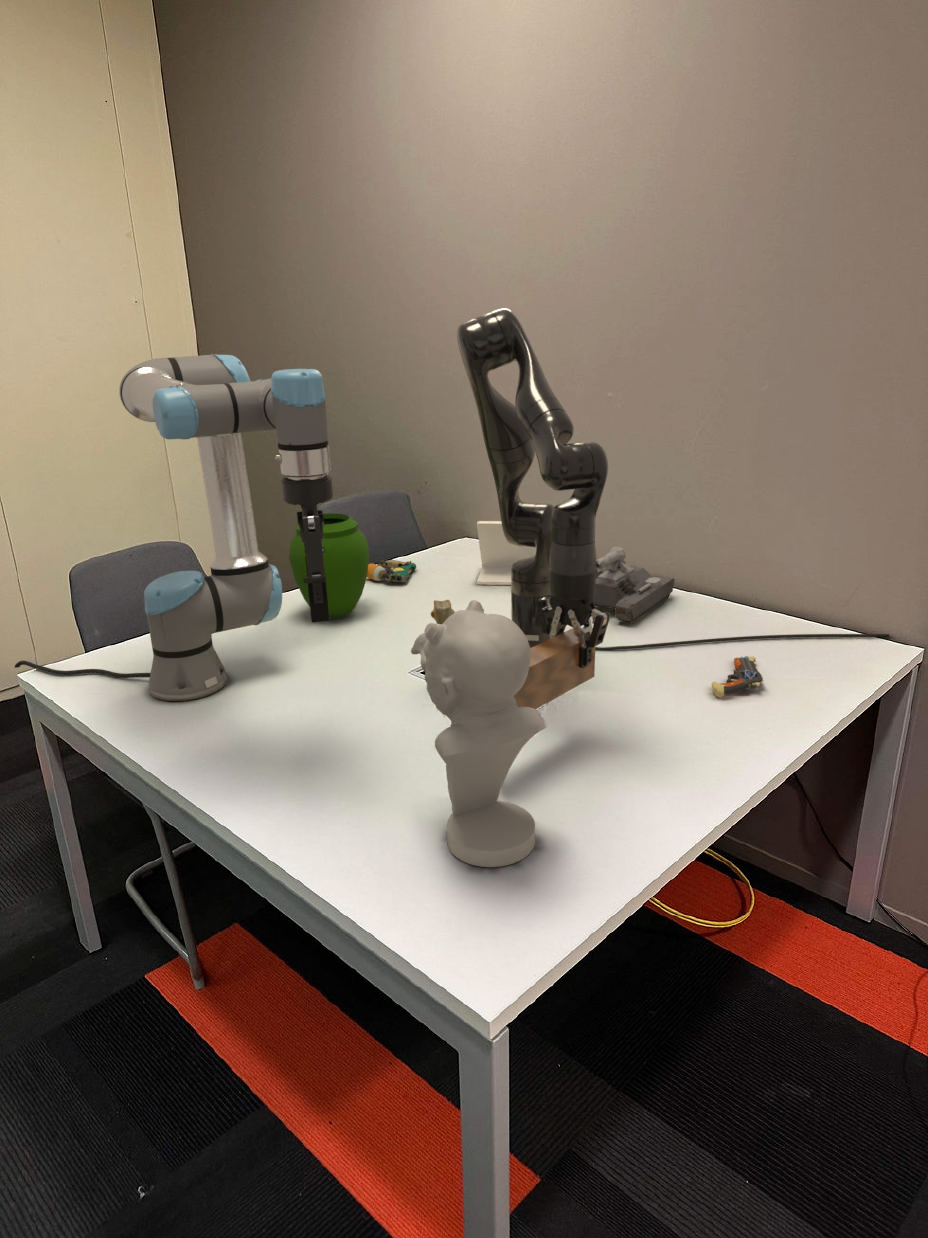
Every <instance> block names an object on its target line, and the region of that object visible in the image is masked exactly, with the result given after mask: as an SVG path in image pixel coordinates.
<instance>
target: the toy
mask: <svg viewBox="0 0 928 1238" xmlns="http://www.w3.org/2000/svg"><path fill="white" fill-rule="evenodd" d="M626 557H627V556H626V551H625V549H624V548H622V547H621V546H614V547H612V548H611V549H610V550H609V552H608V553H607V554H605V555H604V556H601V557H599V558H598V559H597V558H596V581H595V594H594V598H593V602H594V605H595V606H598V607H602V608H603V607H604V608H609V609H613V610H614V618H615V619H617V620H618V621H621V622H626V623H631V624H634V623H635V622H637V621H638V620H640V619H641V618H642V617H644V616H645V615H647V614H648V613H650V612H651V611H652V610H654V609H655V608H657V607H659V606H660V605H661V604H663V603H664V602H666V601H667V600H669V598H670V596H671V594H672V593H673V591H674V585H675V580H676V579H675V578H673V577H668V576H663V575H656V576H655V577H654V576H651V574H650V573H649V572H648V571H647V570H646V568H644V567H641V566H635V565H629V564H628V563H627V562H626V561H625V559H626Z"/></svg>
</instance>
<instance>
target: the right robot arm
mask: <svg viewBox="0 0 928 1238" xmlns="http://www.w3.org/2000/svg"><path fill="white" fill-rule="evenodd" d="M526 333H527V332H525V329H524V328H523V326H522V323H521V321H520V320H519V318H518V317H517V315H516V314H515V313H514V312H513V311H512V310H511V309H509V308H506V307H502V308H498V309H494V310H492V311H490V312H487V313H484V314H482V315H479V316H477V317H474V318H472V319H470V320H467V321H464V322H462V323H461V324H460V325H459V326H458V328H457V330H456V340H457V346H458V350H459V354H460V356H461V361H462V363H463V366H464V370H465V372H466V376H467V379H468V382H469V386H470V388H471V391H472V395H473V398H474V402H475V406H476V409H477V413H478V418H479V423H480V427H481V433H482V437H483V442H484V446H485V449H486V455H487V457H488V462H489V464H490V468H491V472H492V475H493V480H494V481H493V482H494V484H495V489H496V495H497V500H498V501H497V502H498V508H499V509H498V510H499V515H500V521H501V523H502V529H503V533H504V536H505V538H506V540H507V541H508V542H509V543H510V544H513V545H517V546H526V547H536V555H534V556H532V557H529V558H525V559H521V560H519V561H516V562H515V563H513V565H512V567H511V585H510V588H511V589H510V597H511V599H510V603H511V604H510V606H511V607H510V609H511V610H510V615H511V617H510V619H511V620H512V621H513V622H514V623H515V624H516V625H517V626H518V627H519V628H520V629H521V630H522V632H523V633H524V634H525V636H526V638H527V640H528V643H529V646H530V648H532V647H534V646H536V645H538V644H540V643H542V642H545V641H547V640H549V639H551V638H553V637H555V636H557V635H559V634H561V633H564V632H566V631H565V630H566V627H567V626H568V627H571V628H573V630H574V633H575V635H576V636H577V637H578V641H579V645H580V648H579V667H580V668H585V667H587V666H588V665H589V664H590V663H591V661H592V648H593V647H595V651H601V652H602V651H604V652H605V651H618V650H636V649H647V648H659V647H669V646H679V645H692V644H694V645H695V644H703V643H705V644H706V643H715V642H716V643H717V642H730V641H731V642H732V641H747V640H765V639H768V640H769V639H794V638H795V639H796V638H797V639H798V638H890V633H803V634H801V633H800V634H799V633H798V634H796V633H795V634H767V635H766V634H765V635H748V636H747V635H746V636H731V637H717V638H705V639H703V638H702V639H694V640H693V639H692V640H682V641H680V640H679V641H671V642H670V641H669V642H658V643H647V644H646V643H645V644H636V645H619V646H607V647H606V646H605V647H597V646H599V645H601V644H603V642H604V639H605V636H606V633H607V632H606V631H607V629H608V625H609V622H610V618H611V614H610V613H609V612H608V611H605V612H602V611H600V610H598V609H596V608H597V607H596V605H594V602H593V598H594V594H595V581H596V559H597V548H596V517H597V513H598V509H599V507H600V503H601V499H602V496H603V492H604V489H605V486H606V482H607V478H608V474H609V459H608V455H607V453H606V452H605V449H604V447H602V446H601V444H599V443H598V442H595V441H582V442H581V441H580V442H573V443H569V442H570V441H571V439H572V438H573V435H574V432H575V428H574V423H573V421H572V419H571V418H570V416H569V414H568V413H567V411H566V410H565V409H564V407H563V405H562V404H561V402H560V401H559V399H558V398H557V396H556V395H555V393H554V391H553V390H552V388H551V386H550V384H549V382H548V380H547V378H546V376H545V373H544V371H543V369H542V367H541V364H540V362H539V360H538V357H537V355H536V353H535V351H534V348H533V346H532V344H531V341H530V339H529V338H528V336H527V334H526ZM514 362H516V363H517V366H518V380H517V387H516V393H515V398H514V399H515V401H514V404H515V405H514V404H513V403H512V402H511V401H510V400H508V399H507V398H506V397H504V395H502V394H501V393H500V392H499V391H498V390H497V388H496V387H494V386H493V385H492V383H491V381H490V378H489V373H490V372H492V371H495V370H497V369H500V368H502V367H504V366H507V365H509V364H512V363H514ZM535 456H536V459H537V464H538V469H539V473H540V476H541V479H542V481H543V482H544V483H545V485H546V486H548V487H549V488H550V489H552V490H554V491H559V492H562V491H571V490H573V492H572V494H571V496H570V497H569V498H567V499H566V500H563V501H562V502H560V503H558V504H555V506H554V505H553V504H551V503H544V502H531V501H523V500H522V499H521V498H520V494H519V493H520V492H519V489H520V487H521V485H522V482H523V481H524V479H525V477H526V476H527V473H528V472H529V471H530V469H531V467H532V464H533V462H534V460H535ZM591 618H592V620H591Z"/></svg>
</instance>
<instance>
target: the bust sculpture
mask: <svg viewBox="0 0 928 1238" xmlns="http://www.w3.org/2000/svg"><path fill="white" fill-rule="evenodd" d="M454 612H455V613H453V614H452V615H451V616H450V617H448V618H447V619H446V620H445V622H444V623H443V624H436V623H435V622H430V623H428V624H427V625H426V626H425V628H424V632H423V633H421V634H419V635H418V636H417V637H416V638H415V640H414V642H413V645H412V647H411V649H410V654H412V655H420V667H421V669H422V670H423V672H424V681H425V682H426V690H427V693H428V696H429V698H430V701H431V702H432V704H434V706H435V708H436V710H438V711H439V712H440V713H441V714H442V716H446V717H447V718H448V719H449V720H450V726H448V727H446V728H445V729H443V730H442V731H441V732H440V733H439V734H438V735H436V738H435V741H434V748H435V749H436V752H437V753H438V755H439V757H440V758H441V760H442V761H443V762H444V763H445V771H446V781H447V790H448V796H449V800H450V803H451V810H452V813H451V814H450V815H449V817H448V819H447V822H446V844H447V847H448V849H449V851H450V852H451V854H452V855H453V856H454V857H456V858H457V859H459V860H460V861H462V862H463V863H466V864H469V865H471V866H476V867H483V868H498V867H505V866H509V865H512V864H517V862H520V861H521V860H523V859H525V858H527V856H528V855H530V854H531V852H532V851H533V849H535V848H534V847H535V845H536V822H535V821H536V820H535V819H534V817H533V816H532V814H531V813H530V812H529V811H528V810H526V809H525V808H524V807H522V806H520V805H517V804H515V803H513V802H509V801H504V800H499V796H500V793H501V790H502V788H503V785H504V783H505V780H506V778H507V776H508V773H509V771H510V769H511V768H512V765H513V763H514V761H515V760H516V759H517V756H518V755H519V753H520V752H521V750H522V749H523V748H524V747H525V745H526V744H527V743H528V742H529V741H530V740H531V739H532V738H533V737H535V735H537V734H538V733H539V732H541V731H544V730H545V729H546V728H547V725H546V723H545V720H544V718H543V717H542V714H541V713H540V712H539V711H538V710H537V709H533V708H530V707H518V706H517V705H516V698H515V697H514V695H515V694H516V693H517V692H518V691H519V690H520V689H521V688H522V686H523V685H524V683H525V680H526V678H527V675H528V671H529V666H530V656H531V655H530V653H531V652H530V646H529V643H528V640H527V638H526V636H525V634H524V633H523V632H522V630H521V629H520V628H519V627H518V626H517V625H516V624H515V623H514V622H513V621H512V620H511V618H508V617H507V616H504V615H503V614H502V615H501V614H496V613H485V609H484V607H483V605H482V603H481V602H480V601H478V600H473V599H472V600H470V601H469V603H468V605H467V607H466V609H460V610H457V611H454Z"/></svg>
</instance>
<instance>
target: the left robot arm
mask: <svg viewBox="0 0 928 1238" xmlns="http://www.w3.org/2000/svg"><path fill="white" fill-rule="evenodd" d="M119 398H120V401H121V403H122V406H123V407H124V409H125V410H126V411H127V412H128V413H129V414H130V415H132V416H133V417H135V418H136V419H138V420H139V421H143V422H146V423H147V422H148V423H155V425H156V429H157V431H158V433H159V435H160V436H161V437H162V438H163V439H166V440H190V439H193V438H196V442H197V447H198V454H199V460H200V466H201V472H202V473H201V474H202V478H203V484H204V490H205V497H206V503H207V509H208V515H209V521H210V527H211V533H212V538H213V545H214V551H215V558H214V559H213V561H212V562H211V563H210V566H209V568H210V573H211V574H210V575H208V576H207V575H206V576H204V575H203V573H202V572H201V571H200V570H199V571H198V570H193V569H189V570H179V571H173V572H171V573H167V574H164V575H162V576H160V577H157V578H156V579H154V580H152V581H151V582H150V583H148V585H147V586H146V587H145V589H144V590H143V591H144V592H143V601H144V613H145V614H146V618H147V624H148V631H149V636H150V643H151V648H152V654H153V655H152V661H151V668H150V672H129V673H122V672H121V673H120V672H114V671H110V670H106V669H101V668H84V669H72V670H71V669H70V670H61V669H60V670H59V669H54V668H51V667H47V666H44V665H40V664H36V663H34V662H32V661H31V662H30V661H29V660H19V661H18V662H16V663H15V665H14V669H16V668H20V667H21V666H27V667H30V668H32V669H35V670H39V671H43V672H46V673H49V674H54V675H58V676H72V675H73V676H74V675H84V674H100V675H101V674H102V675H106V676H109V677H113V678H120V679H131V678H132V679H133V678H134V679H135V678H149V679H148V688H149V694H150V695H151V696H152V697H153V698H156V699H157V700H161V701H166V702H186V701H193V700H197V699H202V698H204V697H208V696H211V695H212V694H214V693H217V692H218V691H219V690H221V689H223V688H224V687H225V685H227V682H228V679H227V672H226V668H225V667H224V665H223V663H222V661H221V659H220V657H219V654H218V653H217V651H216V649H215V647H214V644H213V636H212V635H213V634H217V633H222V632H226V631H231V630H236V629H240V628H245V627H250V626H259V625H260V624H262V623H263V624H264V623H267V622H271V621H273V620H275V619H276V618H277V617H278V615H279V614H280V611H281V609H282V605H283V584H282V579H281V577H280V572H279V570H278V568H277V566H276V565H274V564H270V563H269V558H268V557H267V556H266V555H265V554H264V553H262V552H261V551H260V549H259V541H258V535H257V528H256V523H255V516H254V515H255V514H254V508H253V503H252V495H251V489H250V488H251V487H250V482H249V477H248V469H247V463H246V456H245V451H244V449H245V448H244V443H243V436H242V433H252V432H260V431H261V432H263V431H271V430H275V432H276V439H277V448H278V453H279V454H276V455H275V456H274V460H275V462H280V463H279V466H280V467H279V468H280V474H281V475H282V476H283V477H282V479H281V490H282V498H283V502H285V503H286V504H288V505H292V506H297V505H299V506H300V507H301V508H300V510H301V511H296V518H297V525H298V527H299V528H300V533H301V541H302V542H303V543H304V547H305V550H304V551H305V553H306V556H305V561H306V571H307V578H303V582H304V584H305V583H308V591H309V601H310V606H309V613H310V621H311V624H314V623H315V624H316V623H325V622H330V619H329V611H328V600H327V589H326V575H325V572H324V562H323V553H325V548H324V547H322V541H323V540H324V534H323V525H324V519H323V514H324V513H323V509H318V505H319V504H325V503H327V502H329V501H331V500H332V499H333V497H334V491H333V481H332V476H330V472H331V471H332V464H331V452H330V451H331V450H330V444H329V434H328V433H329V431H328V421H327V407H326V406H327V405H326V399H327V395H326V391H325V385H324V381H323V375H322V373H321V372H320V371H319V370H318V369H315V368H288V369H287V368H286V369H279V370H275V371H273V373H272V375H271V376H270V377H267V378H265V377H264V378H260V379H257V380H253V381H252V380H251V379H250V376H249V373H248V371H247V369H246V367H245V366H244V364H243V363H242V361H241V360H240V359H239V358H238V357H237V356H235V355H232V354H215V353H211V354H205V355H203V354H202V355H188V356H174V357H173V356H172V357H158V358H157V357H156V358H152V359H148V360H145V361H143V362H140V363H138V364H136V365H134V366H133V367H132V368H130V369H128V370H127V372H126V373H125V374H124V376H123V377H122V379H121V381H120V384H119Z"/></svg>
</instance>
